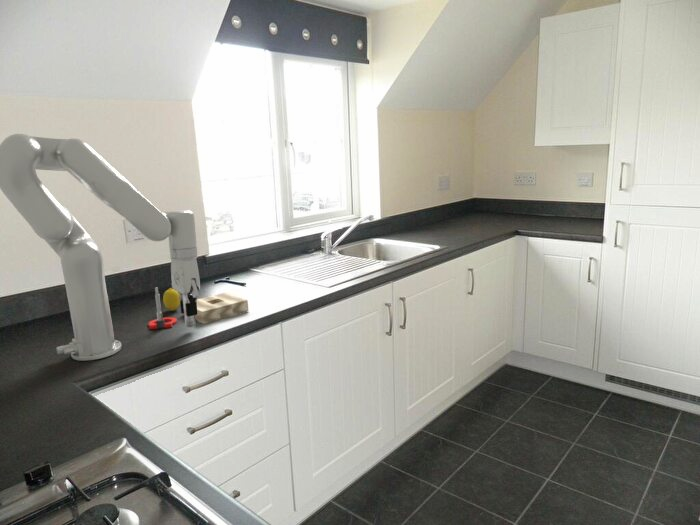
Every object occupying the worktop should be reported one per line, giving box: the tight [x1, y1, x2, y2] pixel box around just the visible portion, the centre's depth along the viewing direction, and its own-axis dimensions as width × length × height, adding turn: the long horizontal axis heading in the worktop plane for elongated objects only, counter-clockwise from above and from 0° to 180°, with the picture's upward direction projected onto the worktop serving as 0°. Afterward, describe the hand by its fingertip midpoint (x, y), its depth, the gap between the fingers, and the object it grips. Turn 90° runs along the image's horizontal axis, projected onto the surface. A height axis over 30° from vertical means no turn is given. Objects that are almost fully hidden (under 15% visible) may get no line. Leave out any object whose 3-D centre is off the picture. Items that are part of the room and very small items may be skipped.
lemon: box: [162, 287, 181, 312], centre depth 176 cm, size 6×6×8 cm
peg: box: [182, 290, 197, 328], centre depth 154 cm, size 3×3×11 cm
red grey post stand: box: [148, 287, 178, 330], centre depth 163 cm, size 8×13×9 cm
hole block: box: [195, 291, 249, 325], centre depth 172 cm, size 16×14×4 cm
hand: (189, 313), depth 154 cm, fingers closed on peg, 3 cm apart
